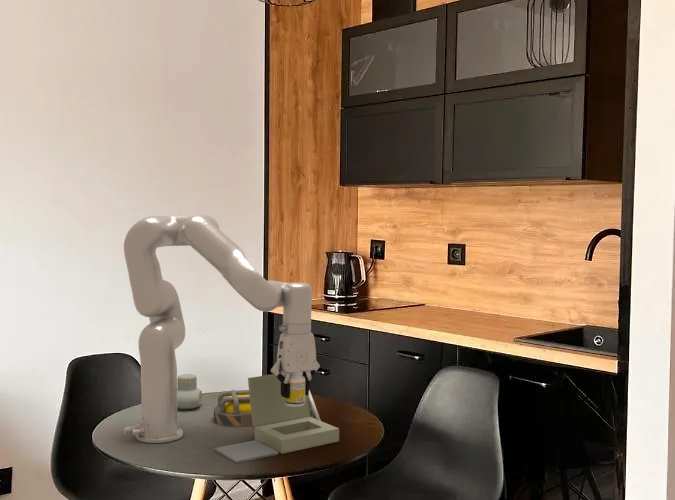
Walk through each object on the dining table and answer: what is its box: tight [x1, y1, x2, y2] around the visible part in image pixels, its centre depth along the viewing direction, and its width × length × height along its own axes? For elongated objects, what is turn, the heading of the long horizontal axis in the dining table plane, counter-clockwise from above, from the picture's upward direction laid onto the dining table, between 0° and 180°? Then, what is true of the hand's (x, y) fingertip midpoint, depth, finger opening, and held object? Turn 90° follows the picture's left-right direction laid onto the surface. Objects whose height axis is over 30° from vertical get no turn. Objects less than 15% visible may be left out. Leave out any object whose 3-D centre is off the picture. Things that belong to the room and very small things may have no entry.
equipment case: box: [247, 373, 340, 455], centre depth 200 cm, size 19×18×16 cm
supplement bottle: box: [285, 372, 305, 407], centre depth 198 cm, size 5×5×10 cm
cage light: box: [213, 389, 315, 427], centre depth 220 cm, size 15×8×30 cm
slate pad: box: [213, 439, 279, 464], centre depth 189 cm, size 12×12×1 cm
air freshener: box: [177, 373, 203, 410], centre depth 231 cm, size 11×8×10 cm
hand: (295, 395), depth 198 cm, fingers closed on supplement bottle, 5 cm apart
